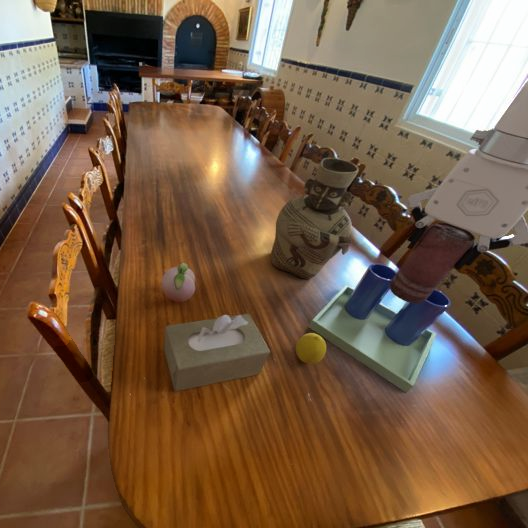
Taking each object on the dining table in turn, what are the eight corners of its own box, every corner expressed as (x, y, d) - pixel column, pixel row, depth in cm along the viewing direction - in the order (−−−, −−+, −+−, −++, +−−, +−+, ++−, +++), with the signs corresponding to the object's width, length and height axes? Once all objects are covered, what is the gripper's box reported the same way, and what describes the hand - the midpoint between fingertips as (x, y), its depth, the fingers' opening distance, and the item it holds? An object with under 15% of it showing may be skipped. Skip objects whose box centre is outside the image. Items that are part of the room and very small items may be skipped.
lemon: (291, 367, 63) (304, 344, 58) (290, 346, 67) (302, 323, 62) (318, 374, 62) (334, 352, 57) (315, 352, 66) (330, 329, 61)
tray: (430, 340, 71) (437, 333, 69) (406, 392, 60) (413, 386, 58) (342, 290, 82) (346, 283, 81) (308, 326, 72) (312, 320, 70)
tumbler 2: (414, 338, 71) (453, 297, 62) (407, 352, 68) (447, 311, 59) (388, 322, 74) (421, 282, 65) (379, 335, 71) (413, 294, 62)
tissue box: (172, 392, 57) (178, 343, 47) (162, 349, 64) (165, 298, 54) (261, 374, 61) (284, 325, 51) (242, 335, 68) (259, 286, 58)
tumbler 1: (371, 313, 76) (401, 273, 68) (363, 325, 73) (393, 284, 64) (348, 300, 80) (374, 259, 71) (339, 311, 76) (365, 270, 67)
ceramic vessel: (300, 293, 80) (349, 191, 61) (253, 249, 94) (280, 155, 75) (347, 276, 88) (405, 180, 68) (297, 237, 102) (332, 149, 82)
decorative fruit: (162, 284, 79) (164, 254, 73) (192, 286, 79) (197, 257, 73) (159, 310, 72) (160, 280, 66) (192, 313, 72) (197, 283, 66)
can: (386, 277, 59) (429, 216, 51) (423, 289, 57) (474, 228, 48) (385, 295, 55) (432, 232, 46) (425, 309, 53) (481, 246, 44)
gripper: (436, 135, 42) (373, 240, 53) (617, 178, 32) (494, 293, 44) (447, 128, 46) (387, 226, 57) (611, 164, 37) (500, 272, 48)
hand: (434, 254), depth 50 cm, fingers closed on can, 6 cm apart
